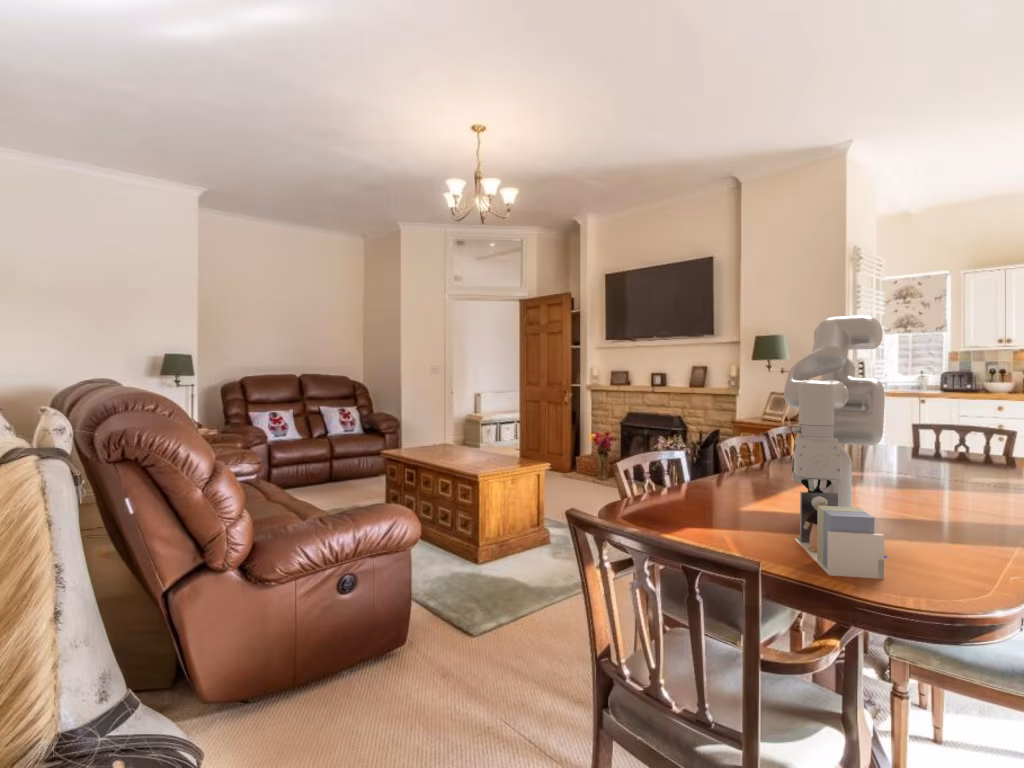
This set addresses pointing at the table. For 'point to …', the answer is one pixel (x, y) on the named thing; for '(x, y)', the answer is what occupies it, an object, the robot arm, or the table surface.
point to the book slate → (846, 525)
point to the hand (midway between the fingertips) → (815, 506)
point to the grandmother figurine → (814, 522)
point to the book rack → (853, 554)
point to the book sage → (821, 526)
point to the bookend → (807, 509)
